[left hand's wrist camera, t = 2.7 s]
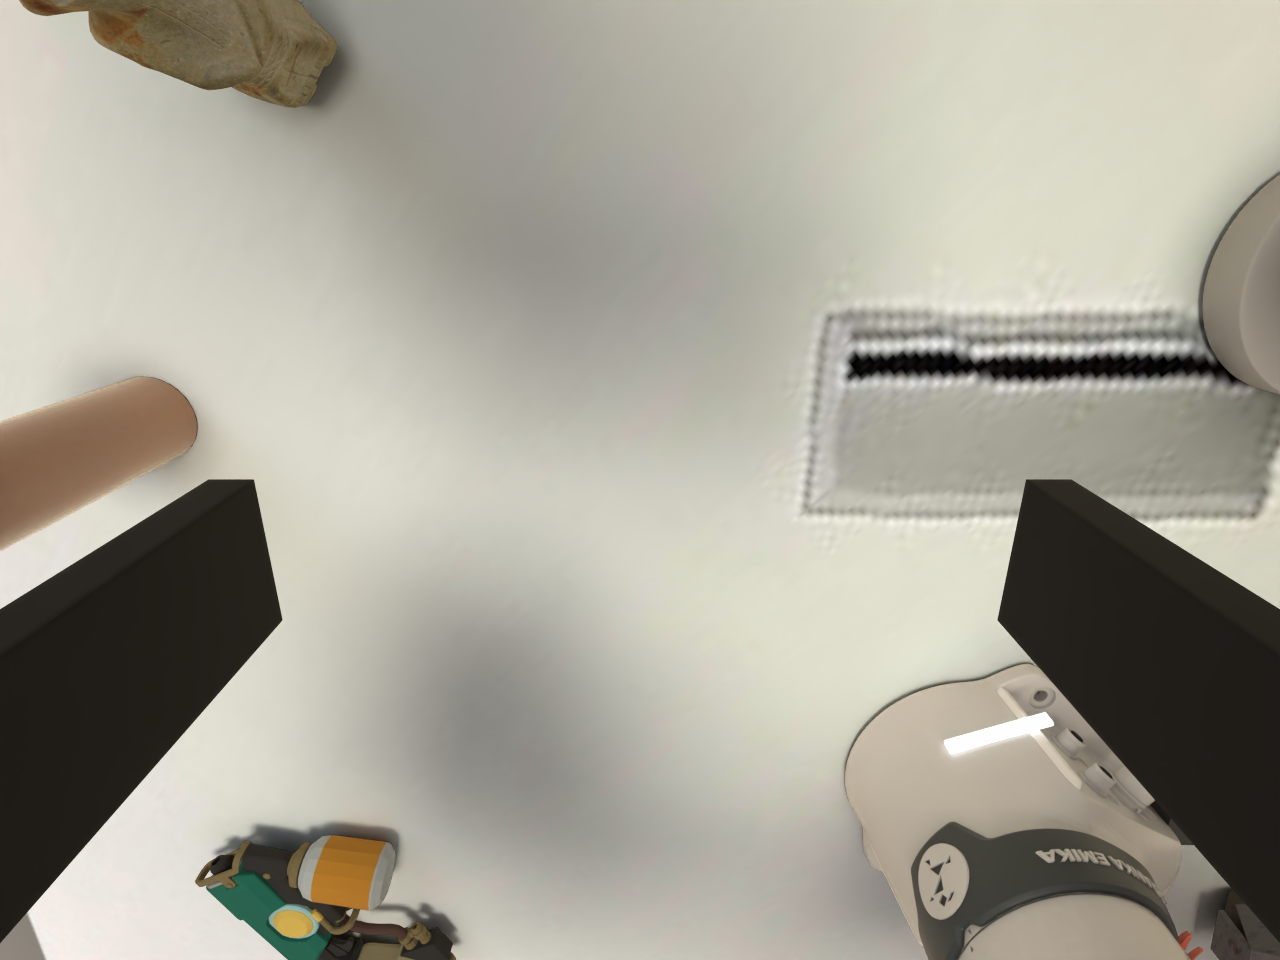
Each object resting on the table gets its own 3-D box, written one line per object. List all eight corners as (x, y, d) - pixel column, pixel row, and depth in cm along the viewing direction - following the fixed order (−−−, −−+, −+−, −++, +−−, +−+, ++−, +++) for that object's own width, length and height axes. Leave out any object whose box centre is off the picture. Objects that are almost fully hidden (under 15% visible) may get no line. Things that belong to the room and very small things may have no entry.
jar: (136, 468, 42) (-128, 603, 27) (92, 389, 40) (-213, 488, 26) (212, 447, 41) (-16, 573, 27) (171, 366, 39) (-95, 455, 25)
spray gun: (471, 952, 56) (295, 971, 58) (402, 802, 50) (204, 828, 51) (458, 1011, 53) (269, 1029, 54) (381, 857, 46) (167, 883, 47)
